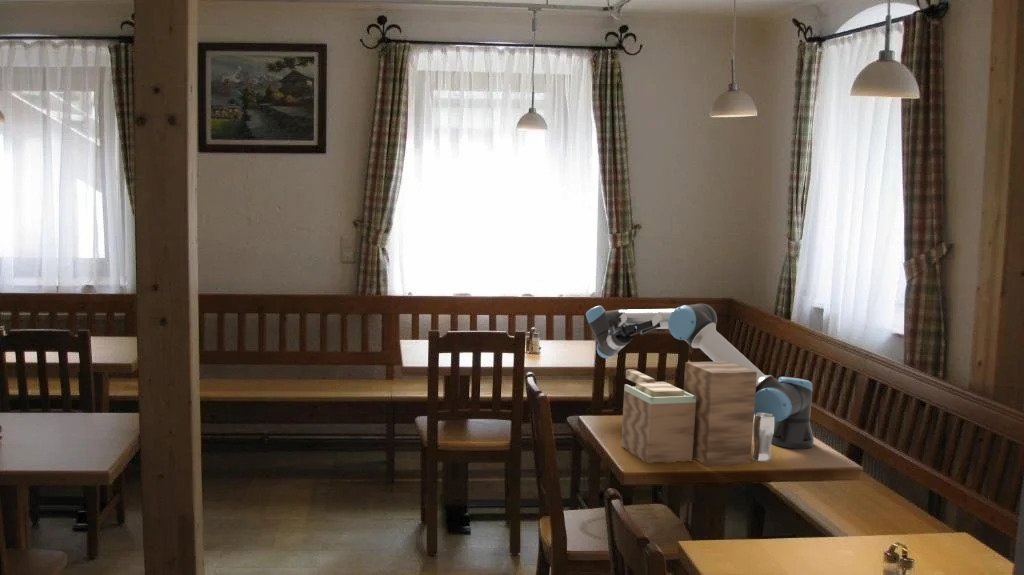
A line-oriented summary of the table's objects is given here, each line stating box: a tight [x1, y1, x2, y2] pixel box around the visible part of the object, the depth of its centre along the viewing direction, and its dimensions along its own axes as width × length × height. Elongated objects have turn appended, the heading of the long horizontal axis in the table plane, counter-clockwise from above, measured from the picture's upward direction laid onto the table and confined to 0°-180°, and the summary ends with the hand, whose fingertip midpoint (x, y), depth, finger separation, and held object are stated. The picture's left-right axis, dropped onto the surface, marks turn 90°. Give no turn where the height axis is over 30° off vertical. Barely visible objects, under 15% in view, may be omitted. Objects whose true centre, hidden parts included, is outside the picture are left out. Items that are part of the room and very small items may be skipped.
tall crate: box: [683, 361, 757, 467], centre depth 333 cm, size 18×16×30 cm
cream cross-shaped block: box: [625, 369, 684, 397], centre depth 340 cm, size 30×10×3 cm, turn 18°
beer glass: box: [751, 412, 775, 463], centre depth 333 cm, size 7×7×15 cm
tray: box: [623, 383, 696, 404], centre depth 333 cm, size 20×16×2 cm
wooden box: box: [620, 389, 696, 464], centre depth 334 cm, size 20×16×19 cm
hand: (643, 315), depth 359 cm, fingers open, 13 cm apart
